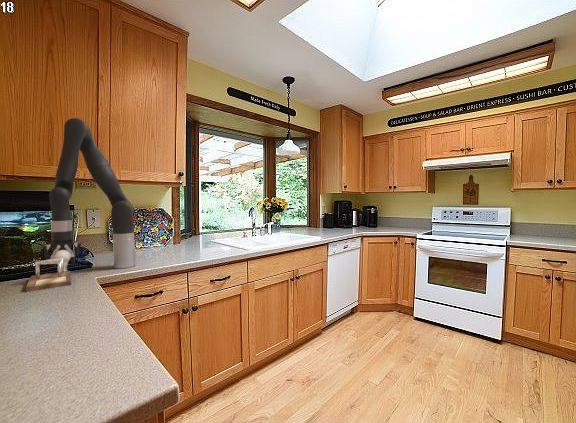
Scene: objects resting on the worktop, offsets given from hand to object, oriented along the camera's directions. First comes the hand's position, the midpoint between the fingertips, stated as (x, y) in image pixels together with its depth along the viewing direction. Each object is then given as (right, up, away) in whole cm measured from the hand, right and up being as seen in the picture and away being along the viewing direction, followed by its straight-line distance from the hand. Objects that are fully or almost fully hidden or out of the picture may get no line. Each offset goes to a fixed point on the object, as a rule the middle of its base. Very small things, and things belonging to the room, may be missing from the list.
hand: (63, 265), depth 127 cm
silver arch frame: (+4, -2, -12) cm, 13 cm away
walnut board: (+7, -4, -14) cm, 16 cm away
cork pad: (+11, -3, -19) cm, 22 cm away
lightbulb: (0, -3, 0) cm, 3 cm away
